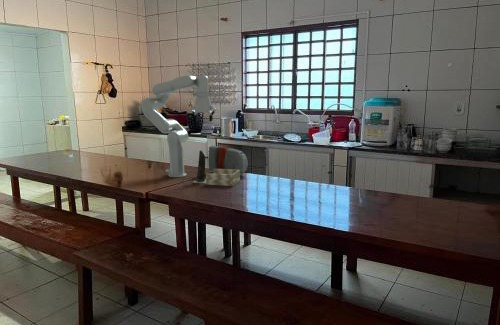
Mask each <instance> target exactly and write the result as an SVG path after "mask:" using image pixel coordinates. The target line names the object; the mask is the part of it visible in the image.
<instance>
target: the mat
mask: <svg viewBox="0 0 500 325" xmlns="http://www.w3.org/2000/svg"><path fill="white" fill-rule="evenodd" d="M192 183H194V184H206V178H205V181H204V182H197V181H196V180H195V179H194V180H193V181H192Z"/></svg>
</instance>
